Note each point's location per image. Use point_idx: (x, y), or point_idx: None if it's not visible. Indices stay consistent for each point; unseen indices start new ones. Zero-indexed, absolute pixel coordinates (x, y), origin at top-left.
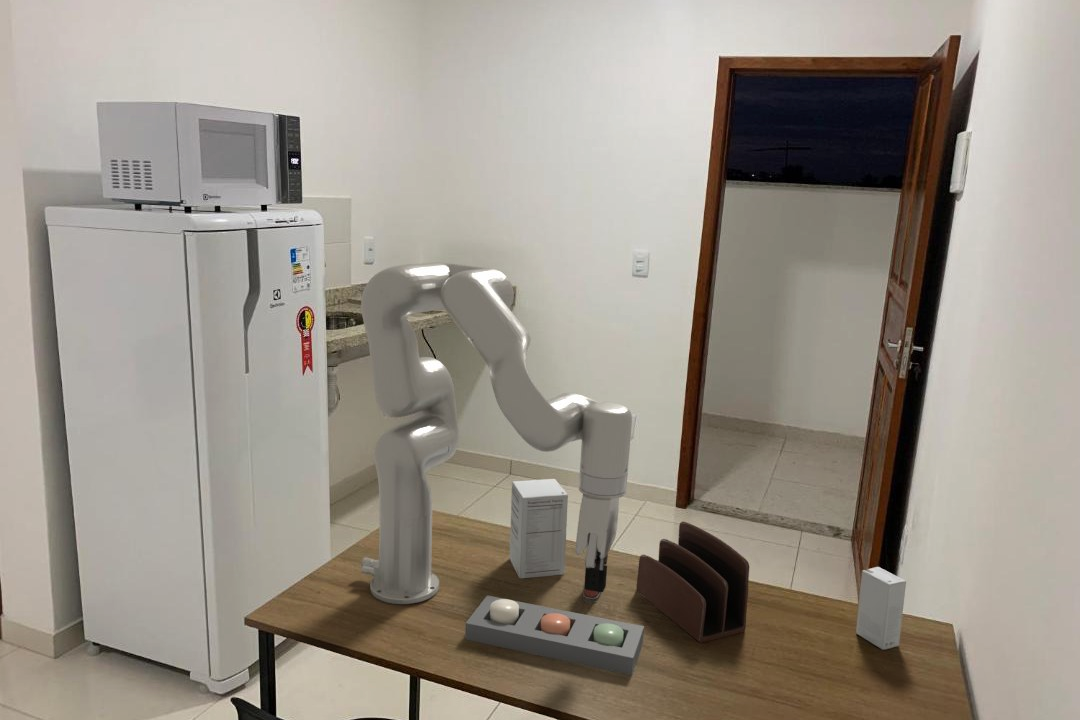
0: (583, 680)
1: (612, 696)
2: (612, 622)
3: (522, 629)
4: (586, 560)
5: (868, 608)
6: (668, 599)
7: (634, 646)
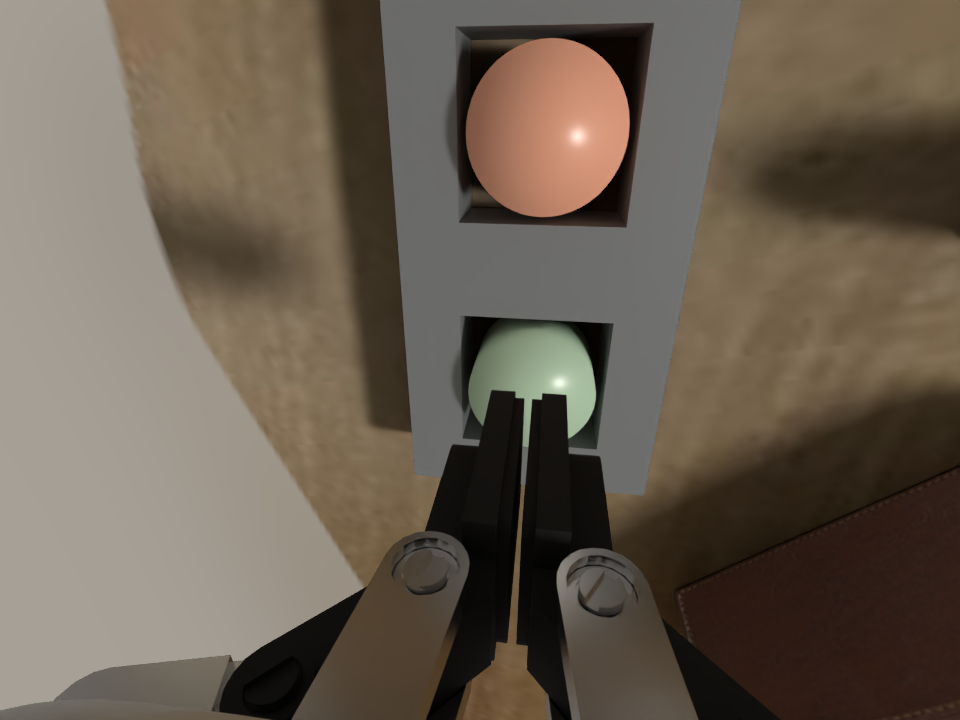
0: (337, 304)
1: (306, 396)
2: (643, 388)
3: None
4: (347, 625)
5: None
6: (891, 568)
7: None
